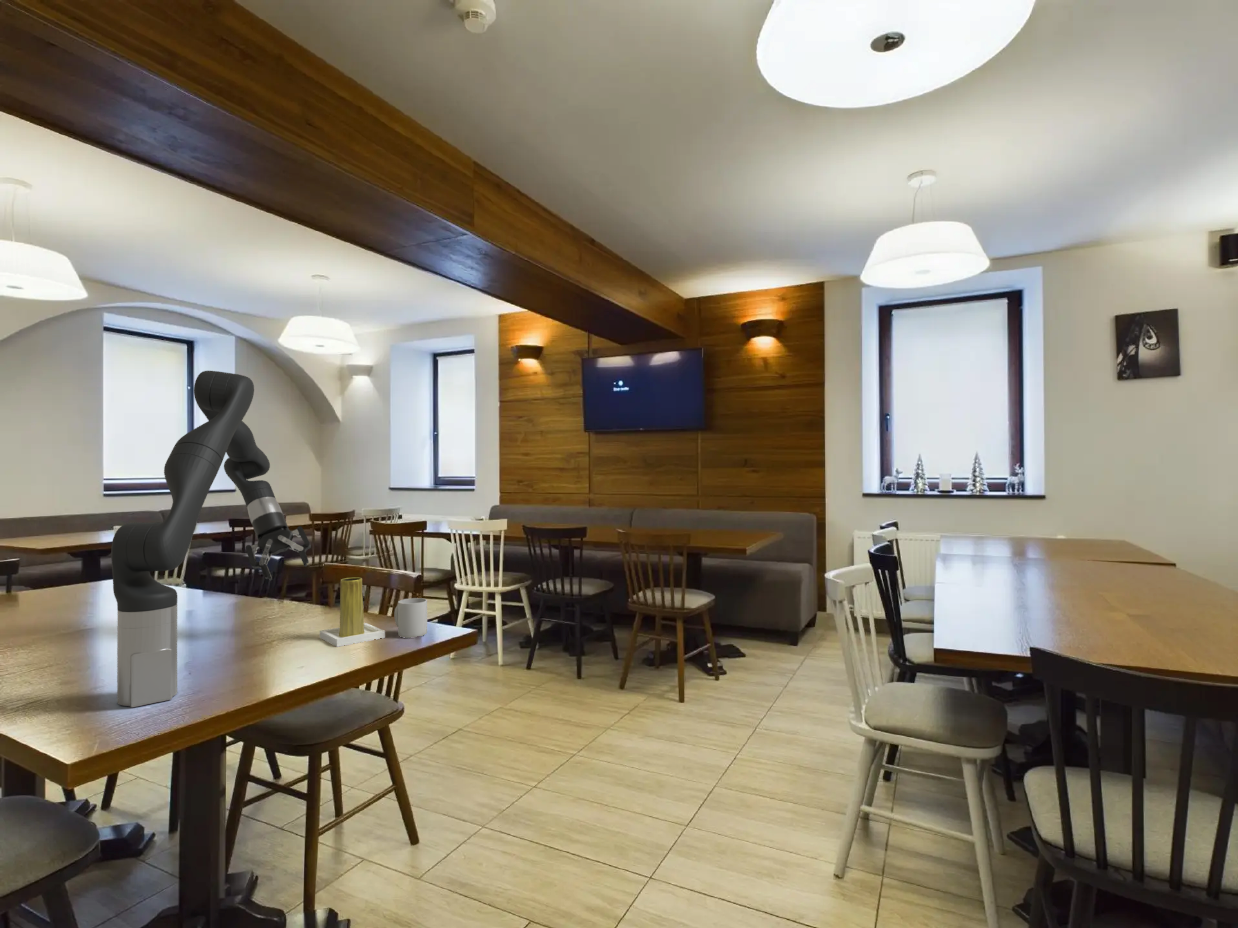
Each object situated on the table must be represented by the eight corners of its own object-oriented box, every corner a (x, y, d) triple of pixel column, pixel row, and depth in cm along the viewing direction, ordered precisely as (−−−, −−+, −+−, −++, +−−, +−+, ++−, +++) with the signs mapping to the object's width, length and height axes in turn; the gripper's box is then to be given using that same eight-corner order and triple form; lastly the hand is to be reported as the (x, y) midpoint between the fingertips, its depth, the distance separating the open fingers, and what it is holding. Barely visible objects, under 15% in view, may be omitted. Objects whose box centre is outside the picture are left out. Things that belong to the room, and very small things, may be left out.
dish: (385, 637, 166) (385, 630, 166) (337, 646, 157) (337, 639, 157) (366, 629, 174) (366, 622, 174) (319, 637, 166) (319, 630, 166)
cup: (412, 640, 164) (411, 604, 164) (384, 635, 168) (384, 600, 168) (433, 633, 170) (433, 599, 170) (406, 629, 175) (406, 596, 175)
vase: (342, 638, 162) (342, 581, 162) (335, 634, 166) (335, 578, 166) (367, 634, 165) (367, 579, 166) (359, 630, 170) (359, 576, 170)
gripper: (297, 513, 176) (318, 565, 172) (241, 533, 170) (261, 588, 166) (293, 502, 170) (315, 556, 165) (234, 523, 164) (255, 579, 159)
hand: (288, 572), depth 165 cm, fingers open, 8 cm apart
